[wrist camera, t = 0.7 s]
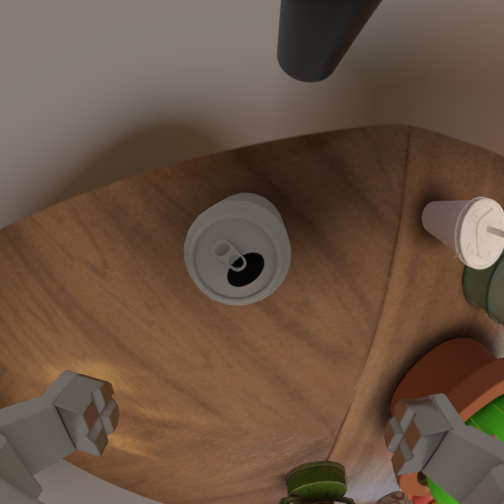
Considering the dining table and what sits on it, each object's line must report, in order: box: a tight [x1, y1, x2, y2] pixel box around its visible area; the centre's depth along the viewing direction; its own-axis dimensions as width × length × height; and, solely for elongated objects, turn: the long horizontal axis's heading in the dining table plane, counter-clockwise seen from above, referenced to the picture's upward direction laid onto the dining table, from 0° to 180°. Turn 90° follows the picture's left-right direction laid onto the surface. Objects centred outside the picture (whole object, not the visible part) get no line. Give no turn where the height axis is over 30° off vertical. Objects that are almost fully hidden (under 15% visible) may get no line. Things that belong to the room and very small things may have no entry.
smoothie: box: [422, 197, 504, 269], centre depth 23 cm, size 6×6×14 cm
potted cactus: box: [390, 338, 504, 504], centre depth 23 cm, size 22×22×25 cm
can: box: [184, 193, 291, 305], centre depth 25 cm, size 8×8×12 cm
